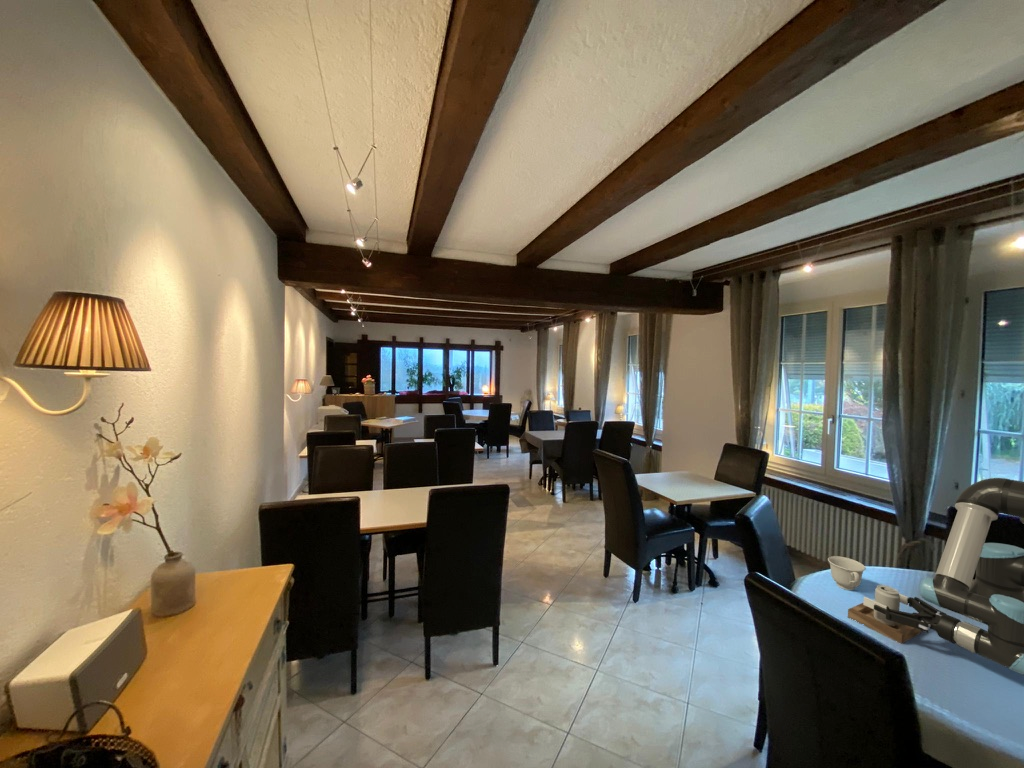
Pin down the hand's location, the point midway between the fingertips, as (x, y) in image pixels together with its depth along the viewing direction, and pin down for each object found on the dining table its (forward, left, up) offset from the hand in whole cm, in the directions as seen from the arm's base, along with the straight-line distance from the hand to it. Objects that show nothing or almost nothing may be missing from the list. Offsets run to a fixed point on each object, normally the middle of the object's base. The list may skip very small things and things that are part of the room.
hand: (874, 595), depth 143 cm
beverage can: (0, +4, -8) cm, 8 cm away
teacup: (-14, -15, -9) cm, 22 cm away
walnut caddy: (0, +3, -8) cm, 9 cm away
